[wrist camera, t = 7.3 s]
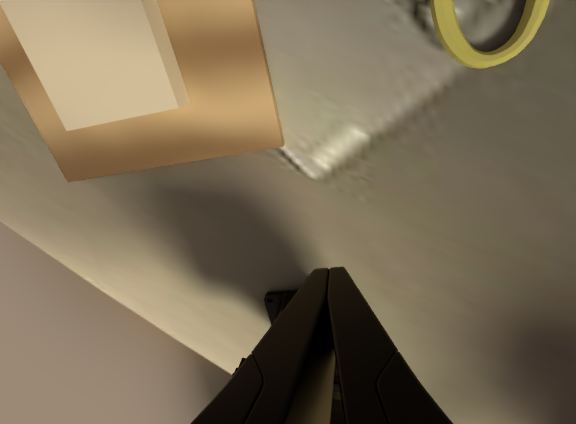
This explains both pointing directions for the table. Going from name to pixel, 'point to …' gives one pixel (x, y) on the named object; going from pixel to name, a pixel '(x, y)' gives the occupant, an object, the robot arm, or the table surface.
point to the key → (464, 50)
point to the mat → (176, 122)
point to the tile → (99, 57)
